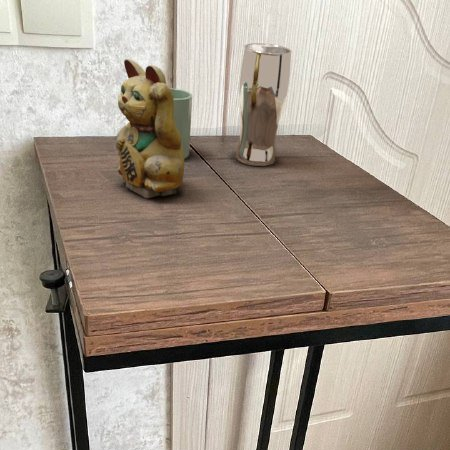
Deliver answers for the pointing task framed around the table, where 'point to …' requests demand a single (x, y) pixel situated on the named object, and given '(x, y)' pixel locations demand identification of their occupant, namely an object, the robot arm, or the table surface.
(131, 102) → the decorative figurine
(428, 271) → the table surface
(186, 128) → the cup
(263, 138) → the beer glass
